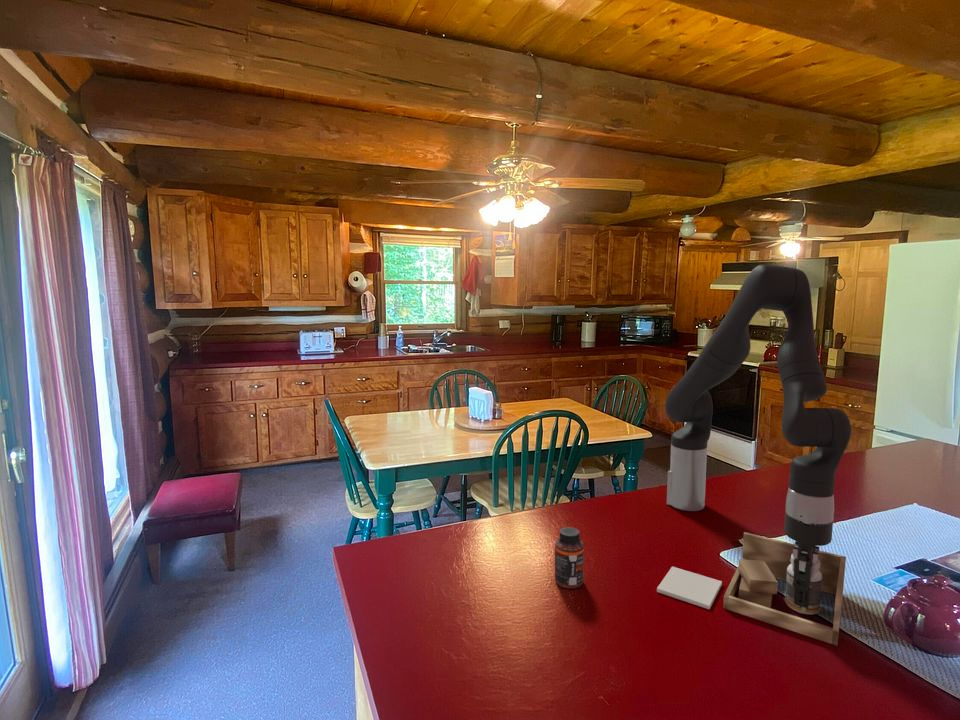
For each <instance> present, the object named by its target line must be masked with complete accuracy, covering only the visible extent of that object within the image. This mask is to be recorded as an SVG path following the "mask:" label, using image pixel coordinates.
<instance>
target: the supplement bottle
mask: <svg viewBox="0 0 960 720" xmlns="http://www.w3.org/2000/svg"><path fill="white" fill-rule="evenodd" d="M580 538H581V537H580V530H579V529H578V528H576V527H569V526H568V527H562V528H560V530H559V537H557V539H556V540H555V544H554V581H555V583H556V584H557V585H558V586H560V587H561V588H563V589H568V590H569V589H570V590H574V589H578V588H580V587H582V586H583V584H584V577H585V576H584V569H585V568H584V567H585V563H584V562H585V561H584V560H585V544H584V541H583V540H582V539H580Z"/></svg>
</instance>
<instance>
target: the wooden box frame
mask: <svg viewBox="0 0 960 720" xmlns="http://www.w3.org/2000/svg"><path fill="white" fill-rule="evenodd" d="M742 539H743V541H742V557H741V559H745V560H757V561H765V563H766V565H767V566H768V568H769V569H770V571H771V572H772V574H773V575H774V577H775V579H778V580H782V581H785V582H786V579H787V568H788V566H789V565H790V564H792V563H791V555H792V554H793V547H795V543H792V542H791V543H790V542H787V541H782V540H778V539H773V538H770V537H767V536H766V537H765V536H762V535H757V534H753V533H751V532H745V531H744V532H743V537H742ZM846 558H847V557H846V556H844V555H840V554H837V553H836V554H835V553H832V552H828V551H824V550H821V549H820V550H819V556H818V559H819V560H820V568H819V571H820V572H821V574H822V591H821V592H824V593H828V594H832V595H835V599H834V612H833V613H834V614H833V623H832V624H833V626H832V627H831V626H828V625H826V624H822V623H818V622H815V621H812V620H809V619H806V618H802V617H799V616H796V615H793V614H789V613H786V612H783V611H780V610H777V609H774V608H772V607H771V608H768V607H765V606H761V605H758V604H755V603H752V602H749V601H746V600H742V599H739V597H736V596H735V594H736V592H737V589H738V587H740V583H741V579H742V576H741V574H740V573H739V571H738V566H739V564H738V566H737V567H736V570H735V572H734V573H733V575H732V578H731V581H730V583H729V585H728V586H727V589H726V590H725V593H724V595H723V604H722V605H723V607H722V608H723V609H725V610H727V611H731V612H734V613H738V614H740V615H742V616H746V617H749V618H753V619H754V620H758V621H761V622H764V623H767V624H771V625H773V626H777V627H779V628H782V629H784V630H785V629H786V630H788V631H792V632H794V633H797V634H801V635H804V636H807V637H810V638H812V639H816V640H819V641H822V642H825V643H828V644H830V645H834V646H838V643H839V634H840V624H841V617H842V616H841V614H842V606H843V605H842V604H843V593H844V585H845V584H844V583H845V574H846V573H845V572H846V560H847V559H846Z"/></svg>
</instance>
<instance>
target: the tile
mask: <svg viewBox="0 0 960 720" xmlns="http://www.w3.org/2000/svg"><path fill="white" fill-rule="evenodd" d="M722 585H723V581H722V580H718V579H715V578H712V577H710V576H709V577H708V576H705V575H703V574H700V573H695V572H692V571H689V570H684V569H682V568H678V567H676V566H671V567H670V569H669V570H668V572H667V573H666V575H665V576H664V577H663V579H662V581H661V582H660V584H658V586H657V587H656V593H659V594H662V595H664V596H668V597H670V598H673V599H677V600H680V601H683V602H686V603H689V604H692V605H695V606H698V607H700V608H704V609H707V610H710V609H711V607H712V605H713V604H714V601H715V599H716V598H717V595H718V593H719V591H720V589H721V588H722Z"/></svg>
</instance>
